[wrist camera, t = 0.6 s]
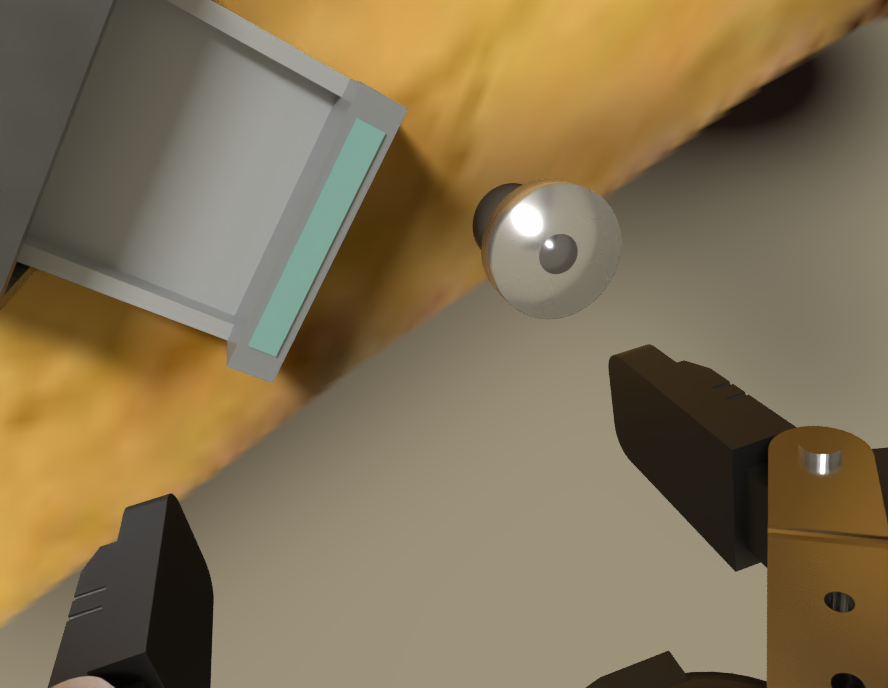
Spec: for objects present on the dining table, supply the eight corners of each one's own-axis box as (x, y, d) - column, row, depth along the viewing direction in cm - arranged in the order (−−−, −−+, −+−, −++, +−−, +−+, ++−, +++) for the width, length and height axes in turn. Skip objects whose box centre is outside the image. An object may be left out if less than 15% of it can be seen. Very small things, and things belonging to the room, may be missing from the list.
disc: (523, 153, 31) (538, 159, 29) (627, 214, 33) (645, 222, 32) (457, 276, 32) (468, 287, 31) (562, 326, 35) (576, 338, 33)
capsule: (497, 169, 35) (530, 185, 31) (560, 204, 37) (600, 224, 33) (459, 241, 36) (486, 265, 32) (522, 272, 38) (556, 299, 34)
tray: (29, -100, 27) (-21, -135, 21) (380, 98, 32) (408, 109, 27) (-75, 201, 29) (-142, 235, 24) (267, 334, 35) (272, 384, 30)
